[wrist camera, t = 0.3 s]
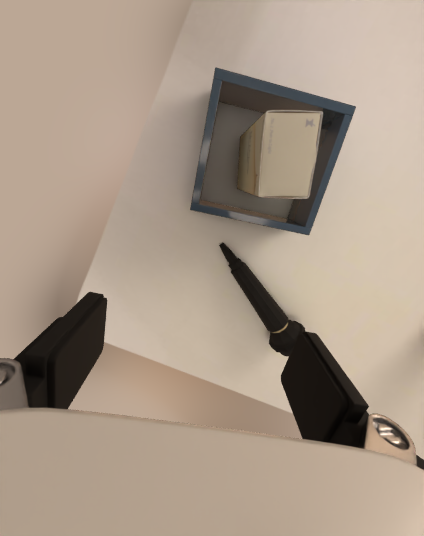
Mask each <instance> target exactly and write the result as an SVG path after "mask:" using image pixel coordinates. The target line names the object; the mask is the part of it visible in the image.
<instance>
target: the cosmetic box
mask: <svg viewBox="0 0 424 536" xmlns="http://www.w3.org/2000/svg"><path fill="white" fill-rule="evenodd" d="M322 117H323V112H322V111H302V110H268V111H266V112H265V113H264V114H263V115H262V116H261V117H260V118H259V119H258V120H257V121H256V122H255V123H254V124H253V125H252V126H251V127H250V128H249V129H248V130H247V131H246V132H245V133H244V134H243V135H242V136H241V137H240V149H239V163H238V182H237V189H239V190H242V191H245V192H247V193H250V194H253V195H255V196H258V197H267V198H287V199H307V198H308V197H309V196H310V190H311V185H312V179H313V174H314V168H315V163H316V157H317V150H318V144H319V137H320V131H321V124H322Z"/></svg>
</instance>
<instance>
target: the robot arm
mask: <svg viewBox="0 0 424 536" xmlns="http://www.w3.org/2000/svg"><path fill="white" fill-rule="evenodd" d="M106 309H107V298H104V296H103V294H98V293H93V292H89V293H87V294H86V295H85V296H84V297H83V298H82V299H81V300H80V301H79V302H78V303H77V304H76V305H75V306H74V307H73V308H72V309H71V310H70V311H69V312H68V313H67V314H66V315H65V316H64V317H59V318H58V319H56V320H55V321H54V322H53V323H52V324H51V325H50V326H49V327H48V328H47V329H46V330H44V331H43V332H42V333H41V334H40V335H39V336H38V337H37V338H36V339H35V340H34V341H33V342H32V343H30V344H29V345H28V346H27V347H26V348H25V349H24V350H23V351H22V352H21V353H20V354H19V355H18V356H17V357H16V358H14V359H9V358H0V536H424V460H423V459H422V458H420V457H419V456H417V455H416V450H415V446H414V443H413V441H412V439H411V438H410V436H409V435H408V434H407V433H406V432H405V431H404V430H403V429H402V428H401V427H400V426H399V425H398V424H397V423H395V422H394V421H392V420H391V419H389V418H387V417H385V416H383V415H380V414H374V413H373V414H371V415H369V414H368V413H367V411H366V410H367V409H368V407H369V406H368V404H367V403H366V401H365V400H364V399H363V397H362V396H361V395H360V393H359V392H358V390H357V389H356V388H355V386H354V385H353V383H352V382H351V381H350V379H349V378H348V377H347V375H346V374H345V372H344V371H343V370H342V368H341V367H340V365H339V364H338V363H337V361H336V360H335V359H334V357H333V356H332V354H331V353H330V352H329V350H328V349H327V347H326V346H325V345H324V343H323V342H322V341H321V339H320V338H319V336H318V335H317V334H315V333H310V332H303V333H302V334H299V335H298V337H297V340H296V342H295V344H294V346H293V349H292V351H291V353H290V356H289V358H288V360H287V363H286V365H285V367H284V370H283V372H282V375H281V382H282V385H283V388H284V390H285V393H286V396H287V398H288V401H289V404H290V406H291V409H292V412H293V414H294V417H295V420H296V422H297V425H298V427H299V430H300V433H301V436H302V438H303V439H299V438H291V437H283V436H277V435H270V434H262V433H255V432H248V431H240V430H233V429H226V428H218V427H210V426H202V425H195V424H188V423H180V422H171V421H164V420H155V419H148V418H140V417H132V416H125V415H116V414H107V413H98V412H89V411H79V410H71V409H70V410H69V409H68V407H69V406H70V404H71V402H72V401H73V399H74V397H75V396H76V394H77V393H78V391H79V389H80V388H81V386H82V384H83V382H84V381H85V379H86V378H87V376H88V374H89V373H90V371H91V369H92V368H93V366H94V364H95V363H96V361H97V359H98V358H99V356H100V354H101V352H102V350H103V346H104V345H103V344H104V334H105V321H106Z"/></svg>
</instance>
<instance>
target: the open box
mask: <svg viewBox="0 0 424 536" xmlns="http://www.w3.org/2000/svg"><path fill="white" fill-rule="evenodd" d="M219 102H223V103H227V104H231V105H234V106H238V107H242V108H246V109H249V110H253V111H257V112H261V113H265V112H266V111H268V110H302V111H322V112H323V117H322V124H321V131H320V137H319V144H318V150H317V157H316V163H315V168H314V174H313V179H312V185H311V190H310V196H309V197H308V198H307V199H294V200H293V203H292V206H291V209H290V212H289V215H288V219H286V218H282V217H277V216H272V215H268V214H263V213H259V212H254V211H250V210H245V209H241V208H236V207H231V206H227V205H222V204H218V203H213V202H209V201H204V200H200V198H201V193H202V187H203V182H204V177H205V171H206V166H207V161H208V155H209V150H210V145H211V140H212V134H213V129H214V124H215V118H216V113H217V108H218V103H219ZM355 108H356V106H352V105H349V104H345V103H341V102H338V101H334V100H331V99H327V98H323V97H320V96H316V95H313V94H309V93H305V92H302V91H298V90H295V89H291V88H288V87H284V86H280V85H277V84H273V83H270V82H266V81H262V80H259V79H255V78H252V77H248V76H244V75H241V74H237V73H234V72H230V71H226V70H223V69H219V68H215V73H214V79H213V84H212V90H211V95H210V101H209V107H208V112H207V118H206V124H205V129H204V135H203V140H202V146H201V152H200V157H199V163H198V169H197V174H196V180H195V186H194V191H193V197H192V203H191V208H190V210H193V211H198V212H202V213H207V214H212V215H216V216H221V217H226V218H230V219H235V220H240V221H244V222H249V223H254V224H258V225H263V226H268V227H272V228H277V229H282V230H286V231H291V232H296V233H300V234H305V235H309V234H310V231H311V228H312V226H313V223H314V220H315V218H316V215H317V212H318V210H319V207H320V204H321V201H322V199H323V196H324V193H325V190H326V188H327V185H328V182H329V179H330V177H331V174H332V171H333V168H334V166H335V163H336V160H337V158H338V155H339V152H340V149H341V147H342V144H343V141H344V138H345V136H346V133H347V130H348V127H349V125H350V122H351V119H352V116H353V114H354V111H355Z"/></svg>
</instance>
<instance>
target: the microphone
mask: <svg viewBox="0 0 424 536" xmlns="http://www.w3.org/2000/svg"><path fill="white" fill-rule="evenodd" d="M219 246H220V248H221V250H222V252H223V254H224V256H225V258H226V259H227V261H228V262H229V267H230V268H231V273H232V274H233V276H234V277H235V279H236V281H237V282H238V284H239V285H240V287H241V288H242V290H243V292H244V293H245V295H246V296H247V298H248V299H249V301H250V303H251V304H252V306H253V307H254V309H255V310H256V312H257V314H258V315H259V317H260V318H261V320H262V321H263V323H264V325H265V326H266V328H267V329H268V330H269V331H270V339H269V344H270V346H271V347H272V348H273V349H274V350H275V351H276V352H280V353H281V354H282V355H284V356H290V353H291V351H292V349H293V346H294V344H295V342H296V340H297V337H298V335H299V334H302V333H303V332H305V328H304V327H303V325H302V324H300V323H298V322H296V321H291V320H288V317H287V316H286V315H285V313H284V312H283V311H282V310H281V308H280V307H279V306H278V304H277V303H276V302H275V301H274V299H273V298H272V297H271V296H270V294H269V293H268V292H267V291H266V289H265V288H264V287H263V285H262V284H261V283H260V282H259V280H258V279H257V278H256V277H255V275H254V274H253V273H252V272H251V270H250V269H249V268H248V266H247V265H246V264H245V263H244V262H242V261H241V260H240V259H239V258H238V259H237V257H236V256H235V255H234V254H233V252H232V251H231V250H230V249H229V248H228V247H227V246H226V245H225V244H224V243H222V244H220V245H219Z"/></svg>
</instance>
